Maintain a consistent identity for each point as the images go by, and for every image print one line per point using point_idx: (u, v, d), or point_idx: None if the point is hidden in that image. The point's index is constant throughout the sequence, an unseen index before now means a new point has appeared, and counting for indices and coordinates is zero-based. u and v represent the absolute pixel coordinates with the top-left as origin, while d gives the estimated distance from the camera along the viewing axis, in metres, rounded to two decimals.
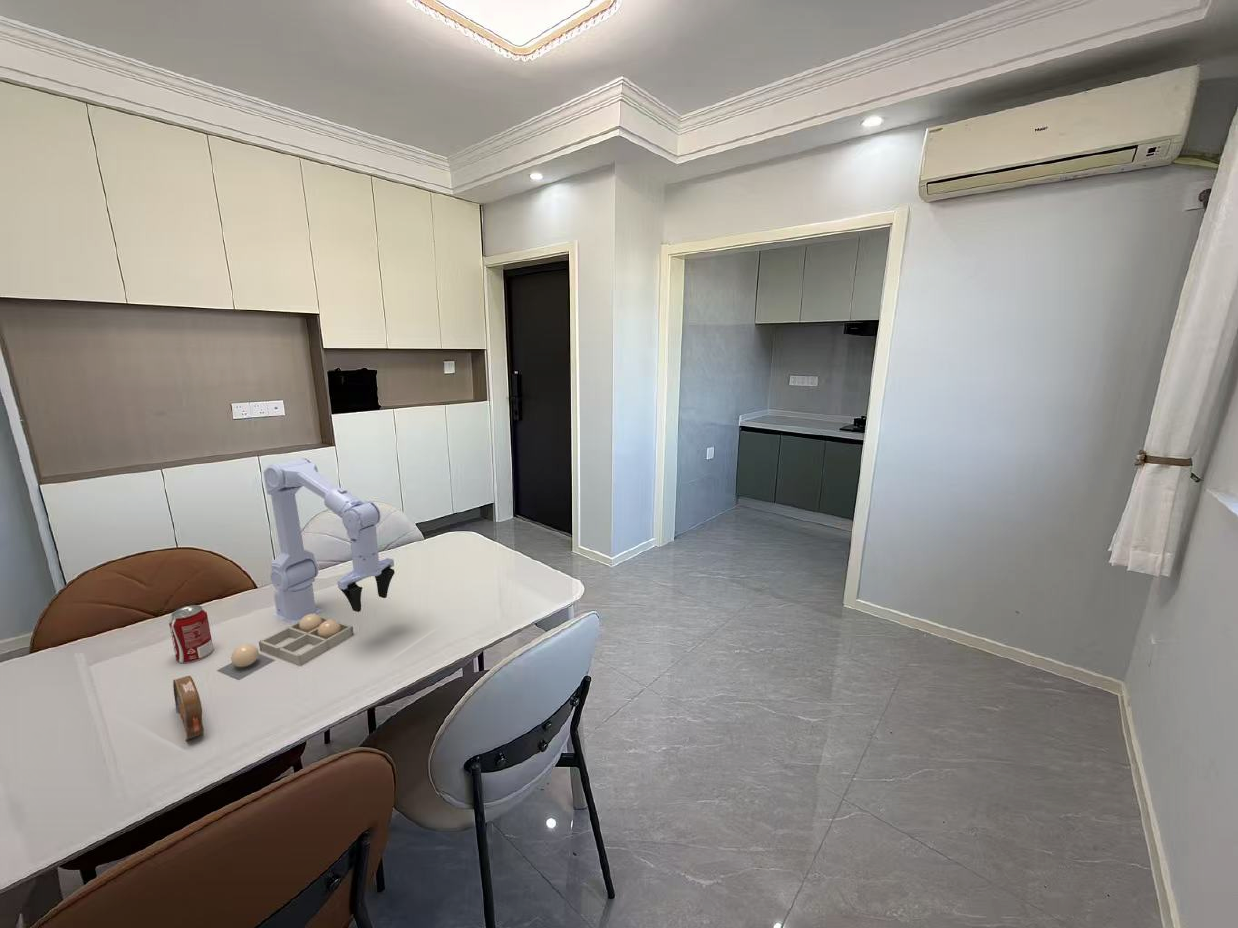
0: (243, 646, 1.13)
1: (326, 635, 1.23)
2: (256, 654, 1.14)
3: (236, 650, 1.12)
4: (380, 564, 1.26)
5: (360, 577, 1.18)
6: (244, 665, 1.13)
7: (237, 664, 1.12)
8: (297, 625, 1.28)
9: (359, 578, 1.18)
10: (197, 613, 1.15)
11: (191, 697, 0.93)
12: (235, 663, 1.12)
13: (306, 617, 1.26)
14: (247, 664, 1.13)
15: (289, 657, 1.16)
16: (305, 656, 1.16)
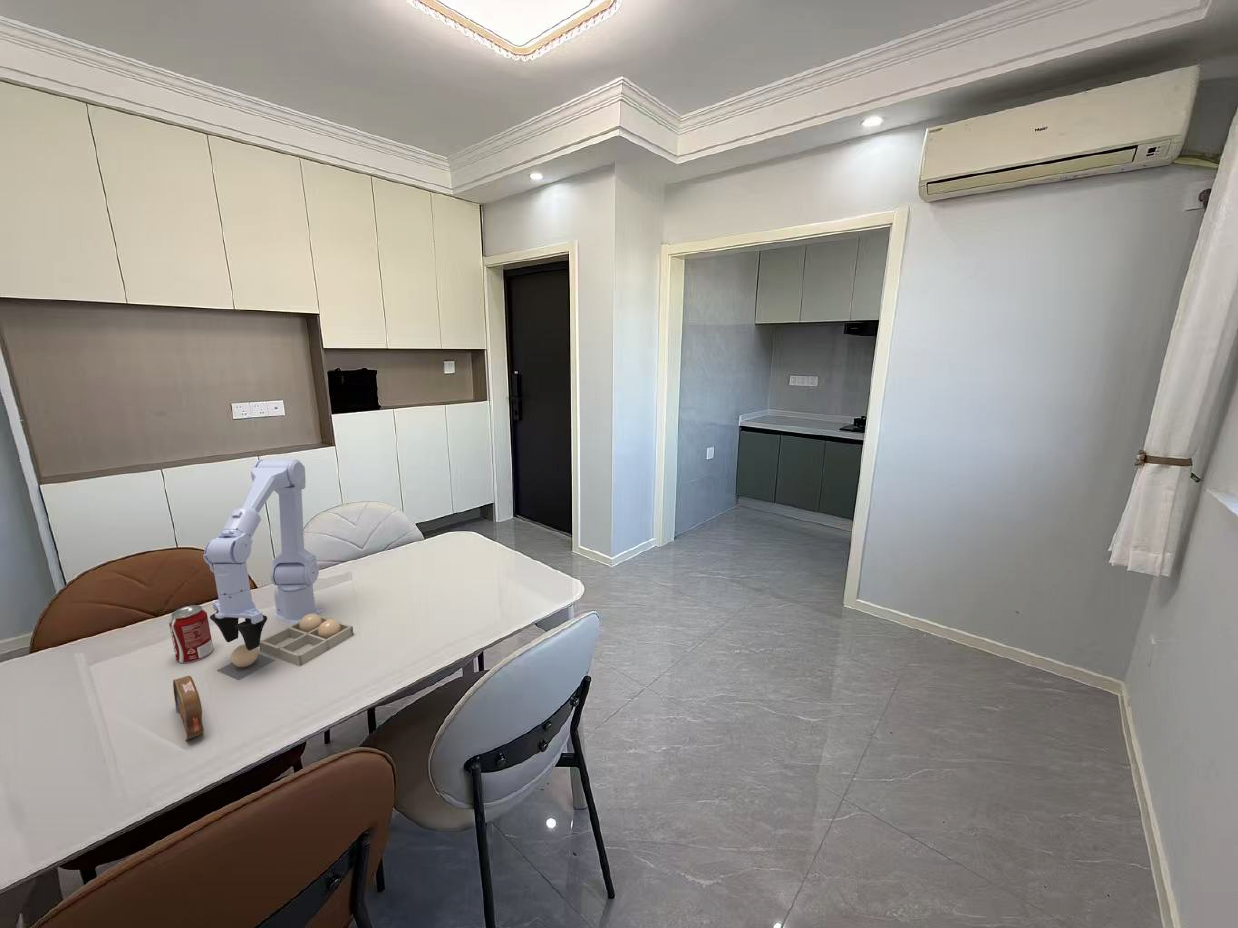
0: (243, 646, 1.13)
1: (326, 635, 1.23)
2: (256, 654, 1.14)
3: (236, 650, 1.12)
4: (247, 612, 1.10)
5: (217, 608, 1.11)
6: (244, 665, 1.13)
7: (237, 664, 1.12)
8: (297, 625, 1.28)
9: (217, 609, 1.11)
10: (197, 613, 1.15)
11: (191, 697, 0.93)
12: (235, 663, 1.12)
13: (306, 617, 1.26)
14: (247, 664, 1.13)
15: (289, 657, 1.16)
16: (305, 656, 1.16)
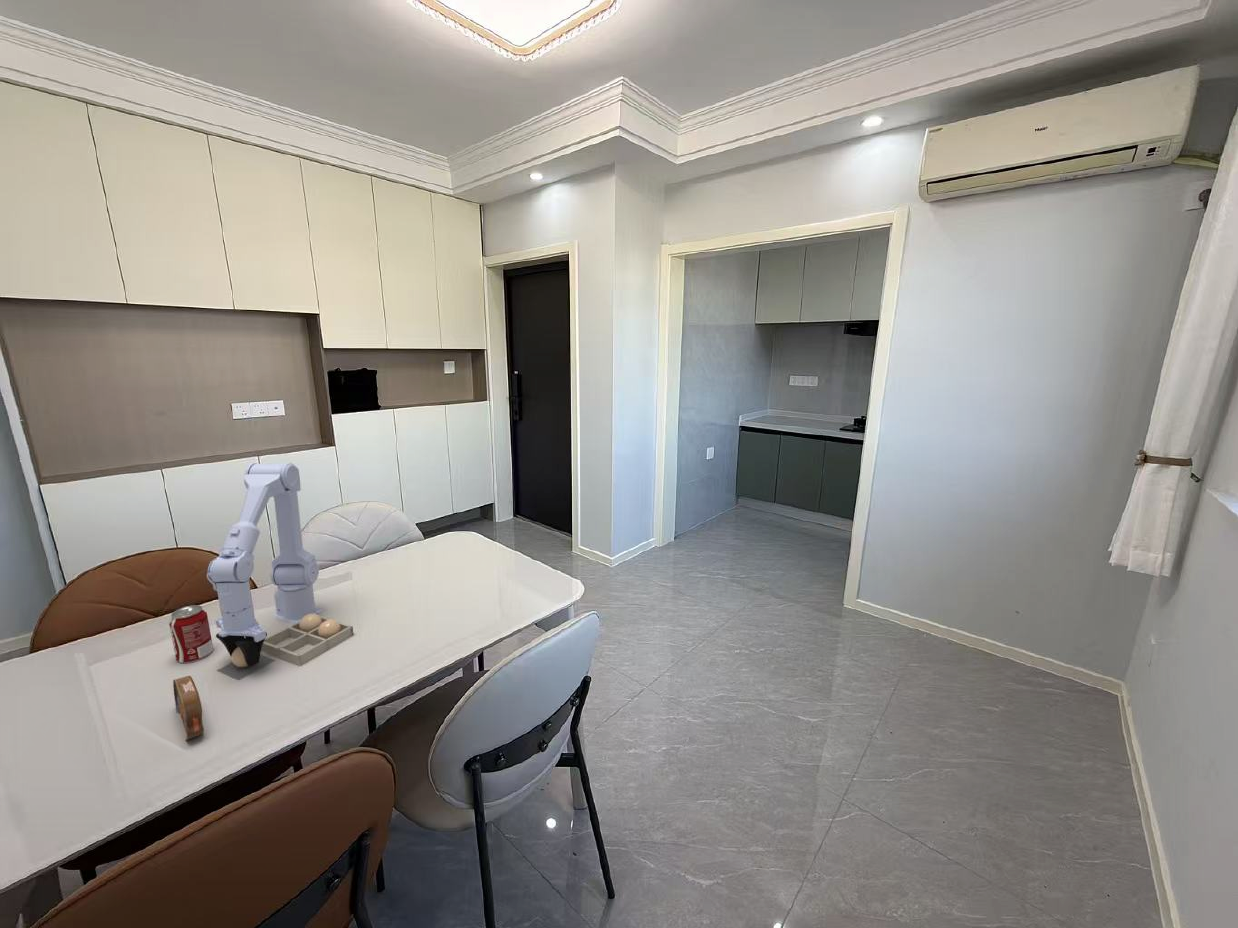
0: None
1: (326, 635, 1.23)
2: None
3: (236, 650, 1.12)
4: (250, 630, 1.11)
5: (220, 626, 1.12)
6: (244, 665, 1.13)
7: (237, 664, 1.12)
8: (297, 625, 1.28)
9: (220, 626, 1.12)
10: (197, 613, 1.15)
11: (191, 697, 0.93)
12: (235, 663, 1.12)
13: (306, 617, 1.26)
14: None
15: (289, 657, 1.16)
16: (305, 656, 1.16)
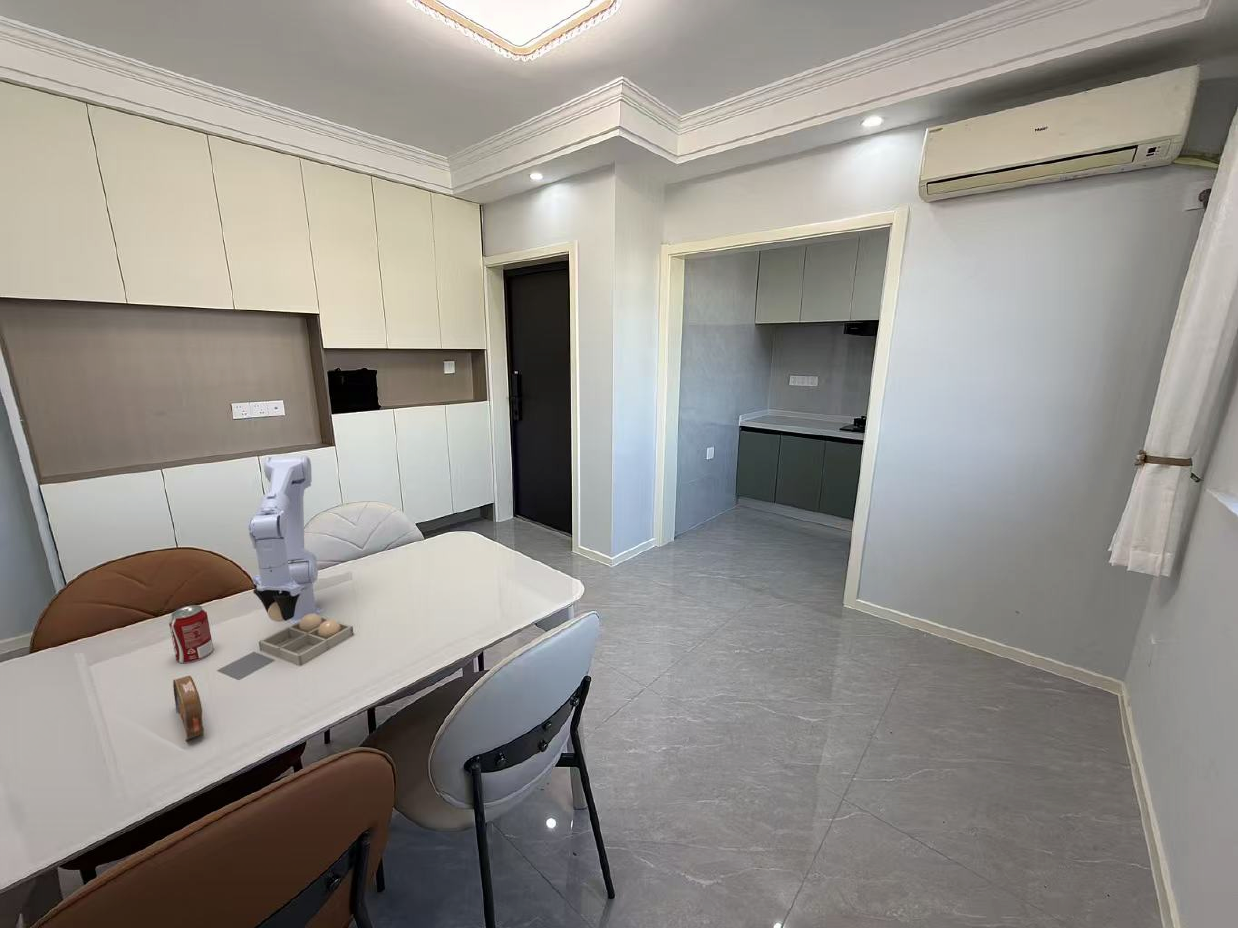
0: None
1: (326, 635, 1.23)
2: None
3: (272, 605, 1.18)
4: (286, 585, 1.17)
5: (258, 582, 1.18)
6: (280, 619, 1.18)
7: (273, 618, 1.18)
8: (297, 625, 1.28)
9: (258, 582, 1.18)
10: (197, 613, 1.15)
11: (191, 697, 0.93)
12: (272, 617, 1.18)
13: (306, 617, 1.26)
14: None
15: (289, 657, 1.16)
16: (305, 656, 1.16)
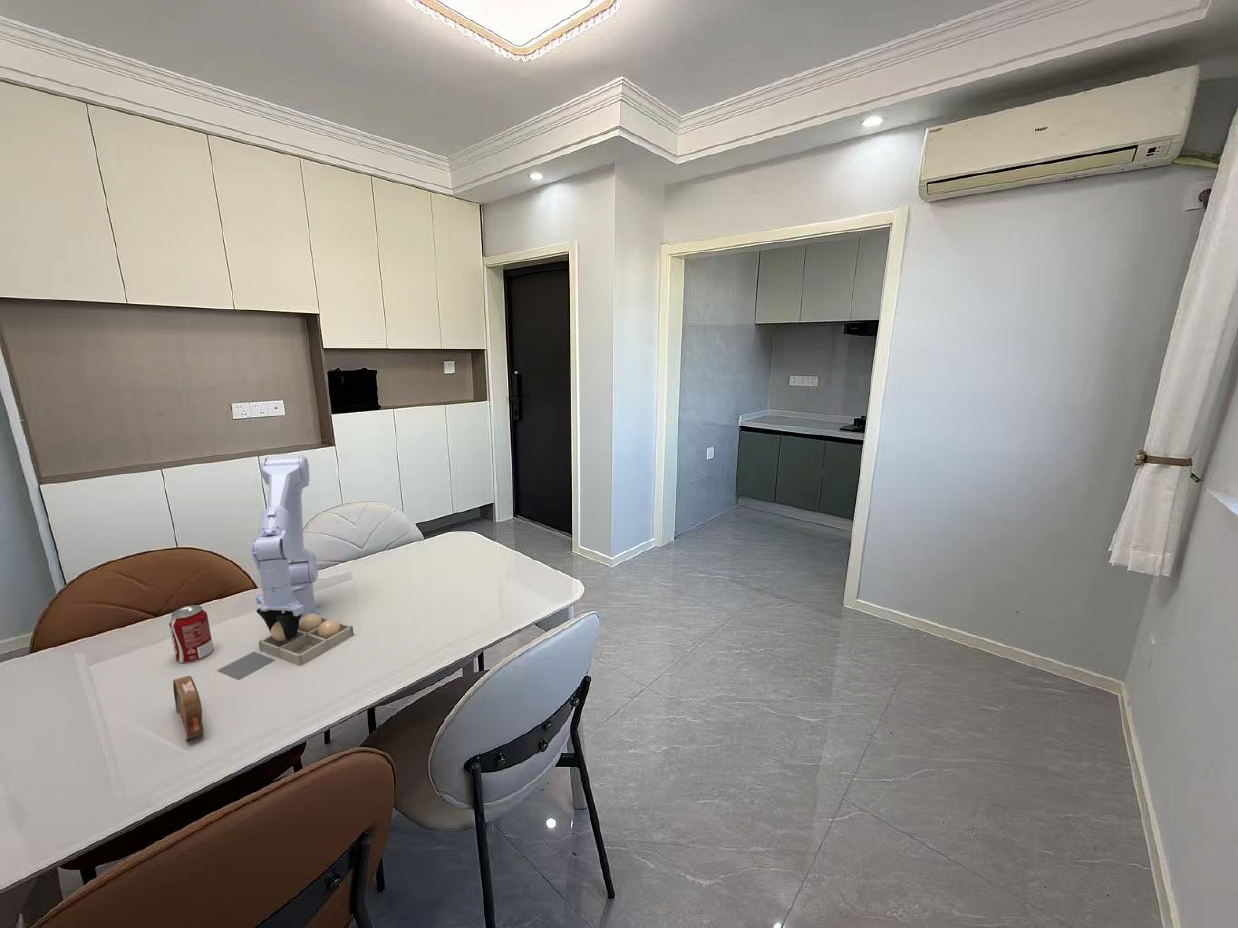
0: None
1: (326, 635, 1.23)
2: None
3: (275, 624, 1.20)
4: (288, 605, 1.18)
5: (261, 602, 1.19)
6: (283, 639, 1.20)
7: (276, 637, 1.19)
8: None
9: (261, 602, 1.19)
10: (197, 613, 1.15)
11: (191, 697, 0.93)
12: (274, 637, 1.19)
13: (306, 617, 1.26)
14: (285, 638, 1.20)
15: (289, 657, 1.16)
16: (305, 656, 1.16)
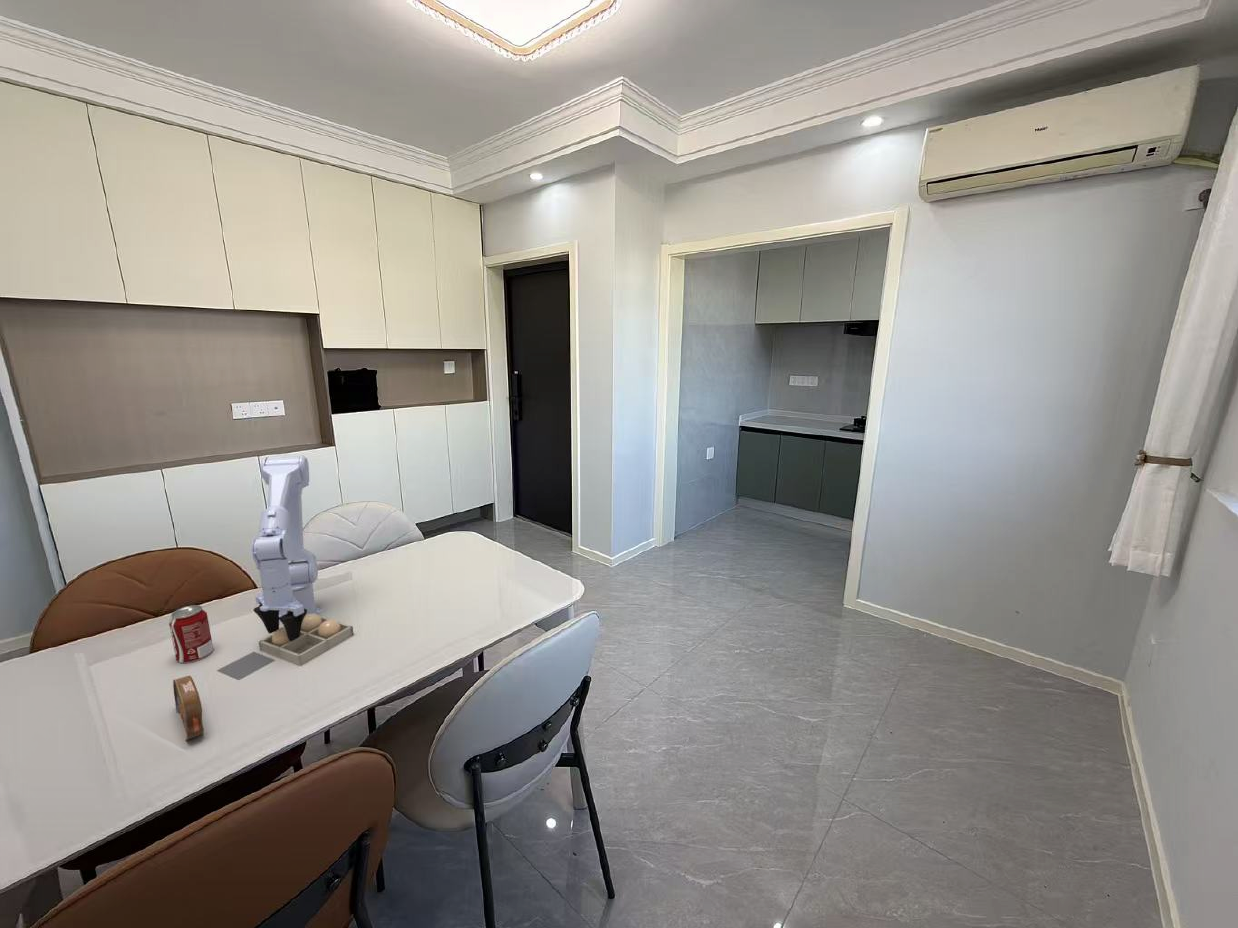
0: (282, 628, 1.21)
1: (326, 635, 1.23)
2: None
3: (276, 632, 1.20)
4: (288, 605, 1.18)
5: (261, 602, 1.19)
6: None
7: (277, 645, 1.19)
8: None
9: (261, 602, 1.19)
10: (197, 613, 1.15)
11: (191, 697, 0.93)
12: (276, 644, 1.19)
13: (306, 617, 1.26)
14: None
15: (289, 657, 1.16)
16: (305, 656, 1.16)
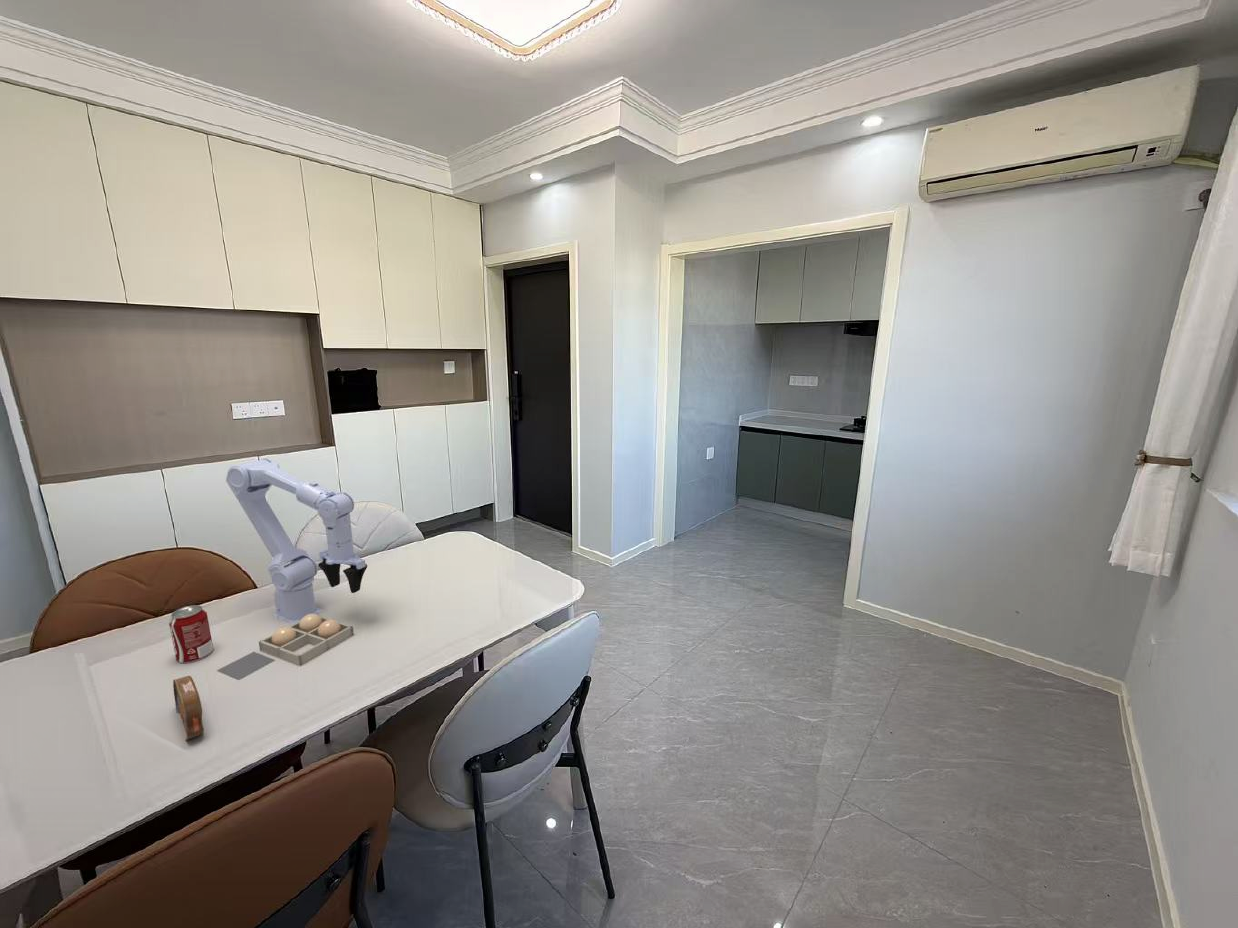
0: (282, 628, 1.21)
1: (326, 635, 1.23)
2: (294, 635, 1.22)
3: (276, 632, 1.20)
4: (351, 559, 1.28)
5: (325, 557, 1.30)
6: None
7: (277, 645, 1.19)
8: (297, 625, 1.28)
9: (325, 557, 1.30)
10: (197, 613, 1.15)
11: (191, 697, 0.93)
12: (275, 644, 1.19)
13: (306, 617, 1.26)
14: None
15: (289, 657, 1.16)
16: (305, 656, 1.16)
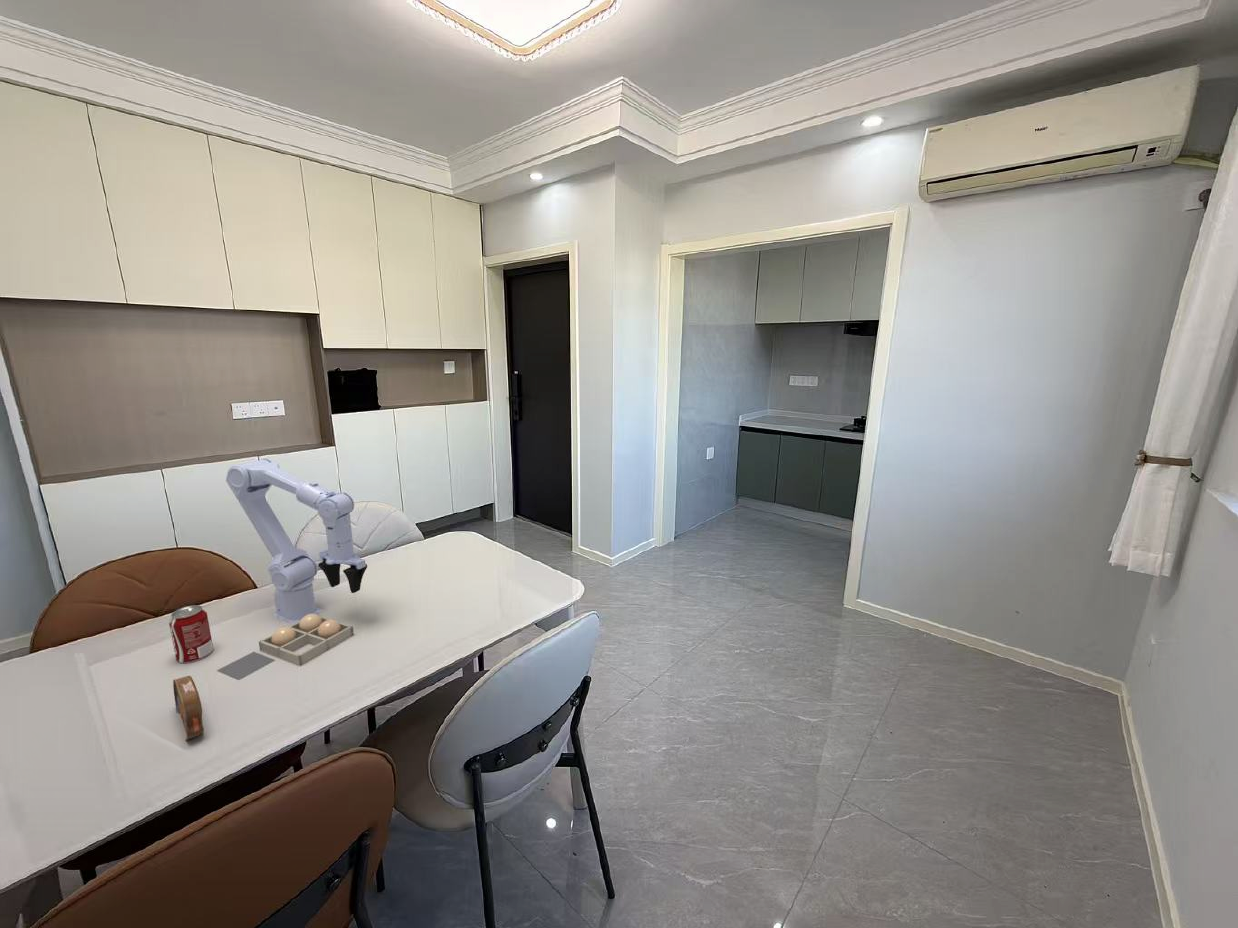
0: (282, 628, 1.21)
1: (326, 635, 1.23)
2: (294, 635, 1.22)
3: (276, 632, 1.20)
4: (351, 559, 1.28)
5: (325, 557, 1.30)
6: None
7: (277, 645, 1.19)
8: (297, 625, 1.28)
9: (325, 557, 1.30)
10: (197, 613, 1.15)
11: (191, 697, 0.93)
12: (275, 644, 1.19)
13: (306, 617, 1.26)
14: None
15: (289, 657, 1.16)
16: (305, 656, 1.16)
